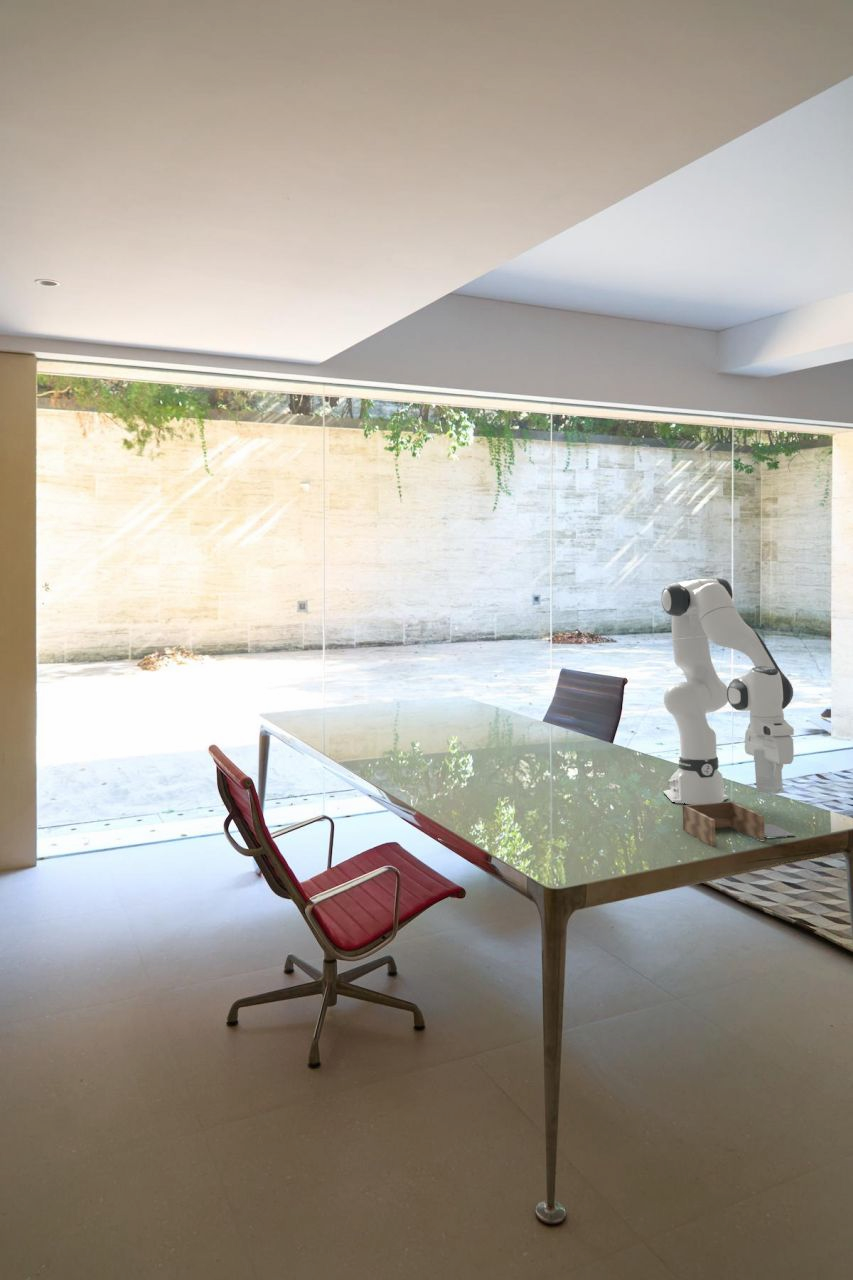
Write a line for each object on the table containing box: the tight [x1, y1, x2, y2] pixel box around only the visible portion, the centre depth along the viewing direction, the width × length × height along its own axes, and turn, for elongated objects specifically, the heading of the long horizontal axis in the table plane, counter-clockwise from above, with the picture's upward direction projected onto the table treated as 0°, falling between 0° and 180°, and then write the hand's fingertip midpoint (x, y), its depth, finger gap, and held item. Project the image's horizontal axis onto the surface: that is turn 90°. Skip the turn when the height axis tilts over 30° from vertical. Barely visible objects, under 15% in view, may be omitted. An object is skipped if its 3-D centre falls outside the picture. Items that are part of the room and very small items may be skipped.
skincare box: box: [753, 748, 784, 795], centre depth 257 cm, size 6×4×12 cm
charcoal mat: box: [764, 824, 796, 838], centre depth 258 cm, size 12×8×1 cm, turn 9°
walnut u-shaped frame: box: [682, 801, 766, 847], centre depth 257 cm, size 18×15×7 cm
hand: (768, 775), depth 257 cm, fingers closed on skincare box, 7 cm apart
